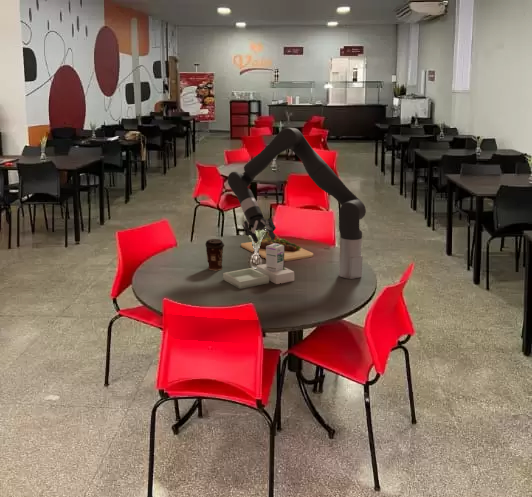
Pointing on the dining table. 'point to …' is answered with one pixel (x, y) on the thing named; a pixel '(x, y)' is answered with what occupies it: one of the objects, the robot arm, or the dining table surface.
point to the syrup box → (275, 257)
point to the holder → (277, 274)
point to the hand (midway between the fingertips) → (265, 240)
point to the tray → (245, 278)
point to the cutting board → (289, 249)
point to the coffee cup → (214, 254)
